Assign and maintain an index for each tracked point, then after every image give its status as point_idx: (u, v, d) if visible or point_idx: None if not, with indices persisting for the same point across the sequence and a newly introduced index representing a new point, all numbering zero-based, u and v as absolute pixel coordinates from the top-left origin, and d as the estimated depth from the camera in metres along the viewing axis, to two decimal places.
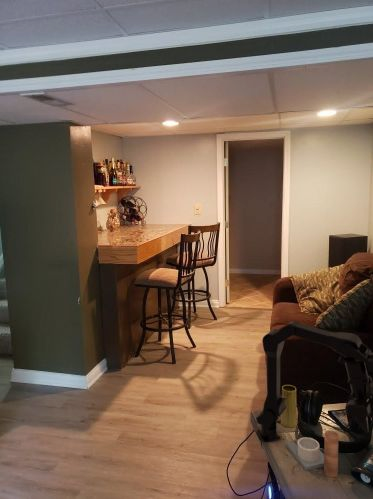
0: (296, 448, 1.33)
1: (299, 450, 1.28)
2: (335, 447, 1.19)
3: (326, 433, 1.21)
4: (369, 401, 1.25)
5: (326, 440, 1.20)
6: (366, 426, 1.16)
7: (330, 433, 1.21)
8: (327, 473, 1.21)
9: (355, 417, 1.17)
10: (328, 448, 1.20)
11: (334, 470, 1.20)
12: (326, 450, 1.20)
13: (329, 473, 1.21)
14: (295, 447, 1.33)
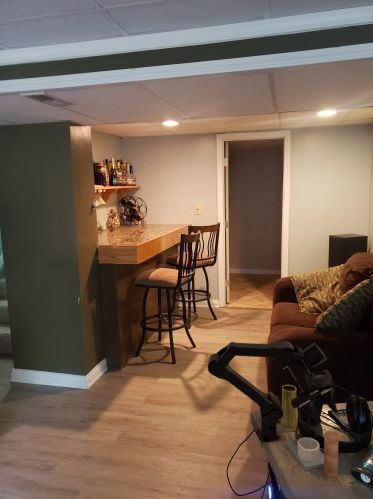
0: (296, 448, 1.33)
1: (299, 450, 1.28)
2: (335, 447, 1.19)
3: (326, 433, 1.21)
4: (327, 397, 1.34)
5: (326, 440, 1.20)
6: (317, 416, 1.26)
7: (330, 433, 1.21)
8: (327, 473, 1.21)
9: (305, 411, 1.28)
10: (328, 448, 1.20)
11: (334, 470, 1.20)
12: (326, 450, 1.20)
13: (329, 473, 1.21)
14: (295, 447, 1.33)
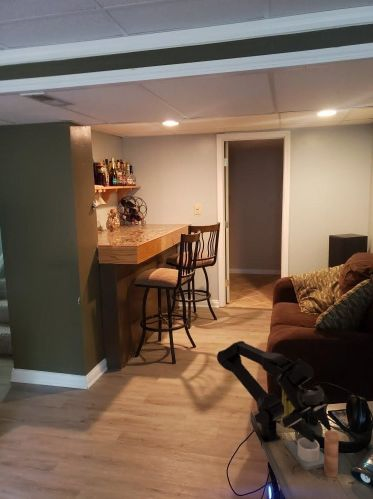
0: (296, 448, 1.33)
1: (299, 450, 1.28)
2: (335, 447, 1.19)
3: (326, 433, 1.21)
4: (320, 414, 1.29)
5: (326, 440, 1.20)
6: (309, 435, 1.21)
7: (330, 433, 1.21)
8: (327, 473, 1.21)
9: (297, 429, 1.23)
10: (328, 448, 1.20)
11: (334, 470, 1.20)
12: (326, 450, 1.20)
13: (329, 473, 1.21)
14: (295, 447, 1.33)
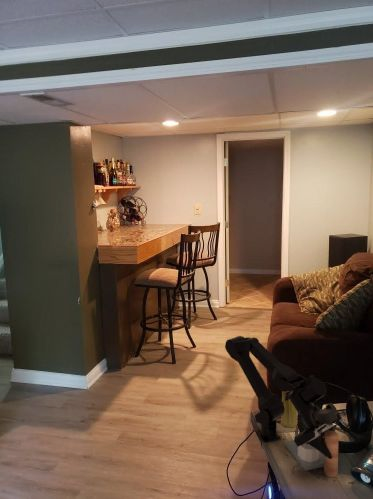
0: (296, 448, 1.33)
1: (299, 450, 1.28)
2: (335, 447, 1.19)
3: (326, 433, 1.21)
4: None
5: (326, 440, 1.20)
6: (327, 452, 1.19)
7: (330, 433, 1.21)
8: (327, 473, 1.21)
9: (314, 445, 1.21)
10: (328, 448, 1.20)
11: (334, 470, 1.20)
12: None
13: (329, 473, 1.21)
14: (295, 447, 1.33)
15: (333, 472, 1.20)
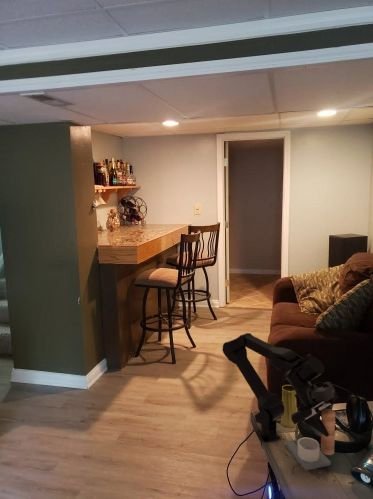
0: (296, 448, 1.33)
1: (299, 450, 1.28)
2: (332, 425, 1.19)
3: (323, 411, 1.21)
4: None
5: (323, 418, 1.20)
6: (324, 429, 1.19)
7: (327, 411, 1.21)
8: (324, 451, 1.21)
9: (311, 423, 1.22)
10: (325, 425, 1.20)
11: (330, 448, 1.20)
12: None
13: (326, 451, 1.21)
14: (295, 447, 1.33)
15: (330, 450, 1.20)
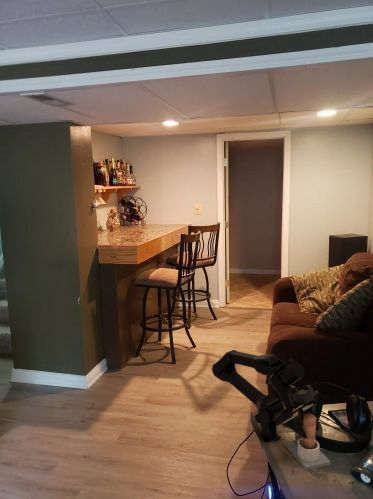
0: (296, 448, 1.33)
1: (299, 450, 1.28)
2: (313, 429, 1.26)
3: (305, 416, 1.28)
4: None
5: (304, 422, 1.26)
6: (302, 432, 1.25)
7: (308, 416, 1.28)
8: None
9: (290, 426, 1.27)
10: (306, 430, 1.26)
11: None
12: None
13: None
14: (295, 447, 1.33)
15: None
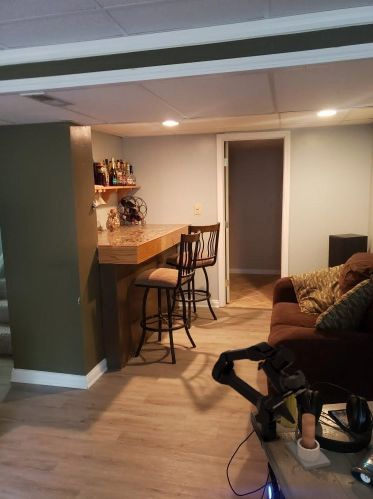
0: (296, 448, 1.33)
1: (299, 450, 1.28)
2: (312, 428, 1.26)
3: (303, 416, 1.28)
4: (301, 398, 1.35)
5: (303, 422, 1.27)
6: (290, 417, 1.26)
7: (307, 415, 1.28)
8: None
9: (279, 412, 1.29)
10: (305, 429, 1.26)
11: None
12: (303, 432, 1.27)
13: None
14: (295, 447, 1.33)
15: None
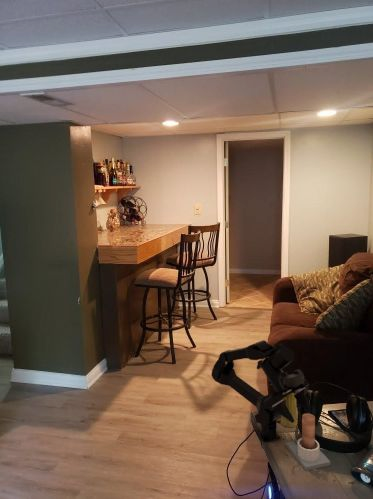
0: (296, 448, 1.33)
1: (299, 450, 1.28)
2: (312, 428, 1.26)
3: (303, 416, 1.28)
4: (301, 396, 1.35)
5: (303, 422, 1.27)
6: (290, 416, 1.27)
7: (307, 415, 1.28)
8: None
9: (278, 411, 1.29)
10: (305, 429, 1.26)
11: None
12: (303, 432, 1.27)
13: None
14: (295, 447, 1.33)
15: None
